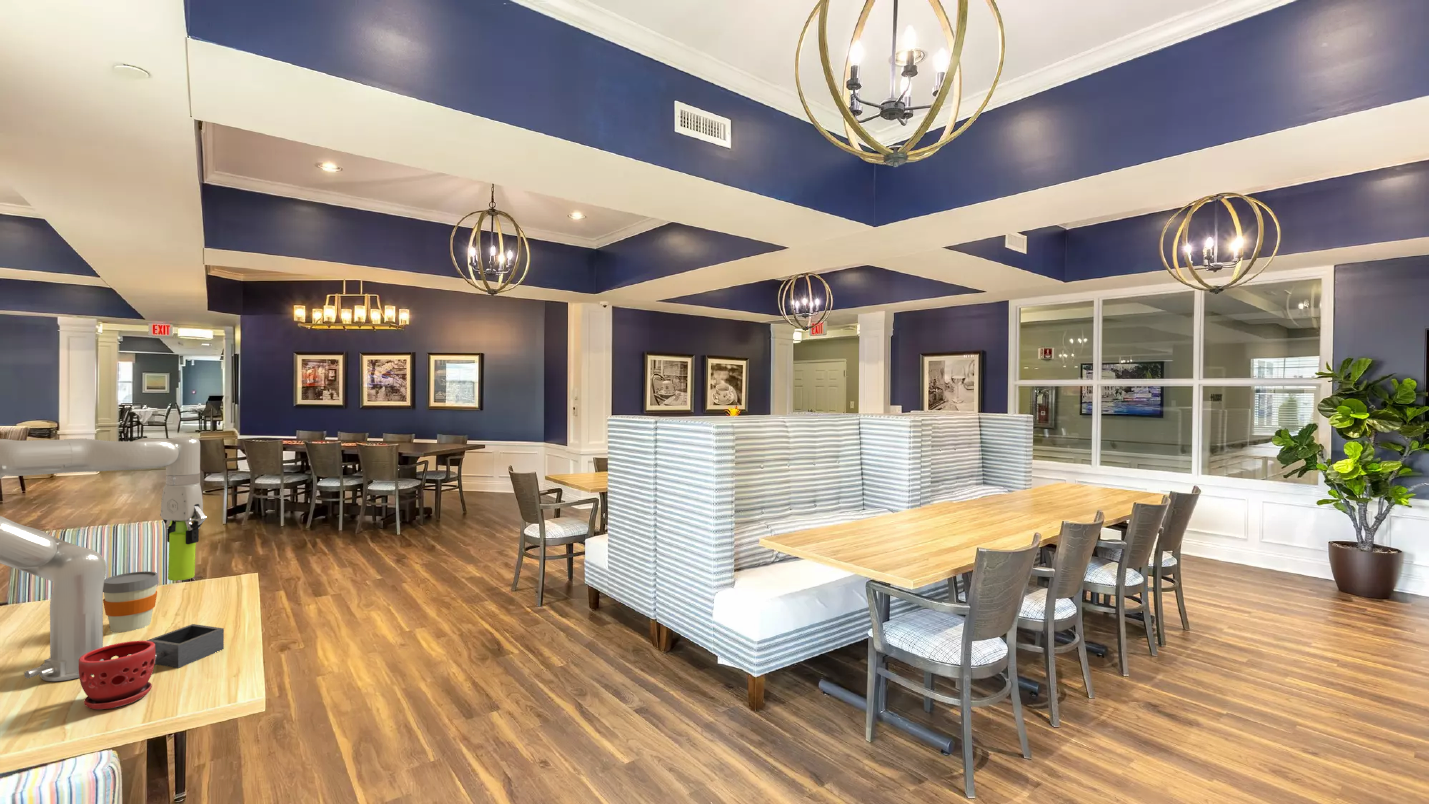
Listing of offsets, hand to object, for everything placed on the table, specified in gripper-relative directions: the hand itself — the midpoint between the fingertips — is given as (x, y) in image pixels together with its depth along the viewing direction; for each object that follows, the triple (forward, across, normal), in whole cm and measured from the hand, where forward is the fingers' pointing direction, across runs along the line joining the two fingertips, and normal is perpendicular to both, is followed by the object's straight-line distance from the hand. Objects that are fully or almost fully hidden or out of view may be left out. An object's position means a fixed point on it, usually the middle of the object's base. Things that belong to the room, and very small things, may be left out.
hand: (182, 541), depth 180 cm
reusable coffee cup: (+29, -24, +3) cm, 38 cm away
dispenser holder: (+29, +12, -10) cm, 33 cm away
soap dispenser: (+11, 0, 0) cm, 11 cm away
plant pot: (+29, +21, -30) cm, 47 cm away
